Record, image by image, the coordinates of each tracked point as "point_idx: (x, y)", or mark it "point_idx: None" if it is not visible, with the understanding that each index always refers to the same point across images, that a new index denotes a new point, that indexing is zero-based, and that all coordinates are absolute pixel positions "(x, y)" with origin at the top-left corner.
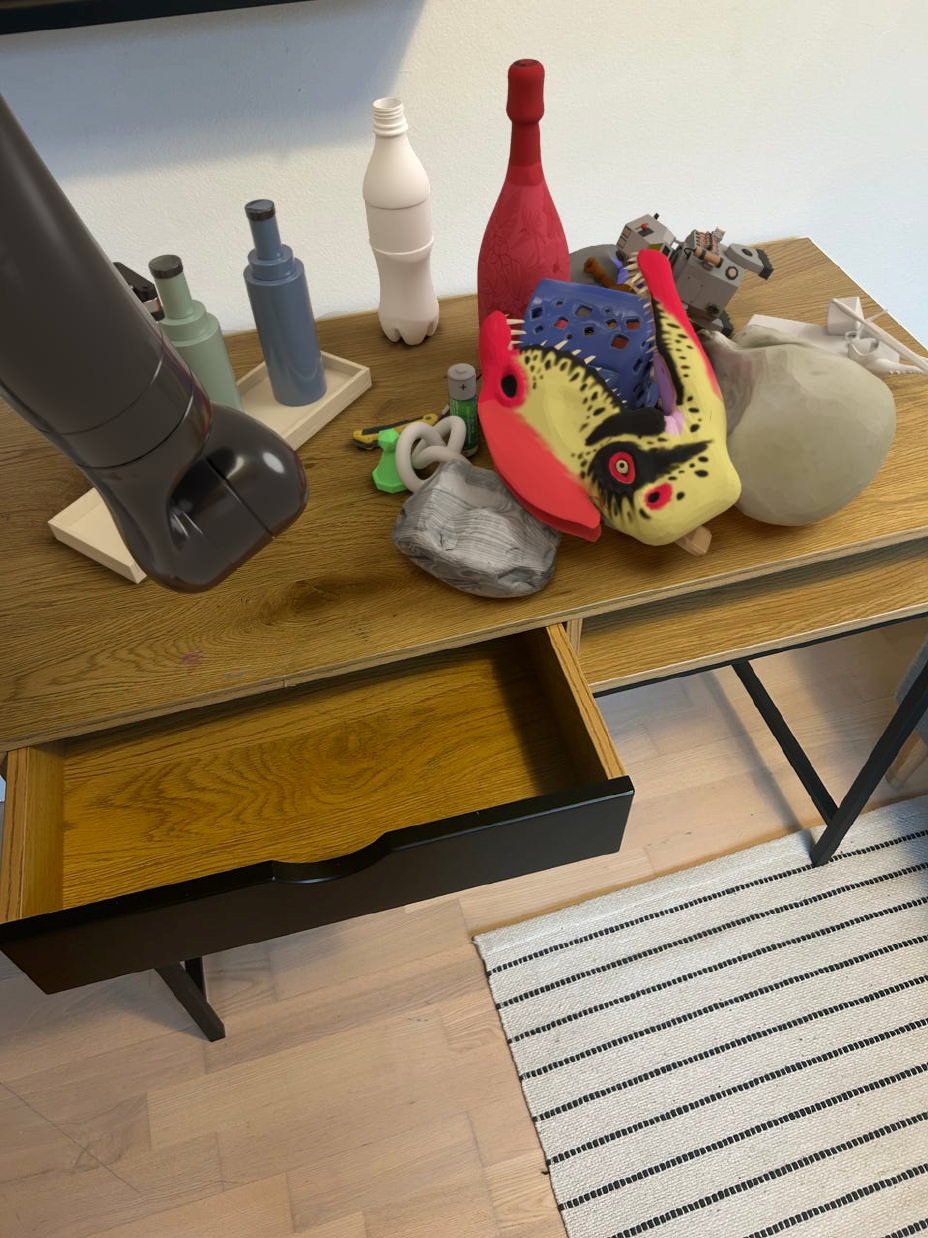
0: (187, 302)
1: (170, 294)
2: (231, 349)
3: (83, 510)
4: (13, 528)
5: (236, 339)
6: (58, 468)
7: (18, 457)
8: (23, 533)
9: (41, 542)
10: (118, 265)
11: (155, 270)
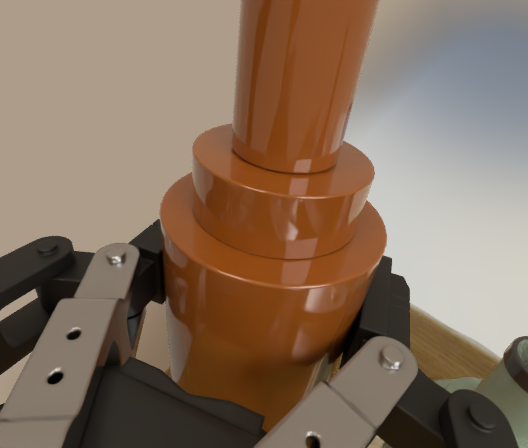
0: (525, 439)
1: (509, 412)
2: (478, 370)
3: None
4: (166, 373)
5: (489, 364)
6: None
7: None
8: None
9: None
10: (497, 435)
11: (523, 370)
